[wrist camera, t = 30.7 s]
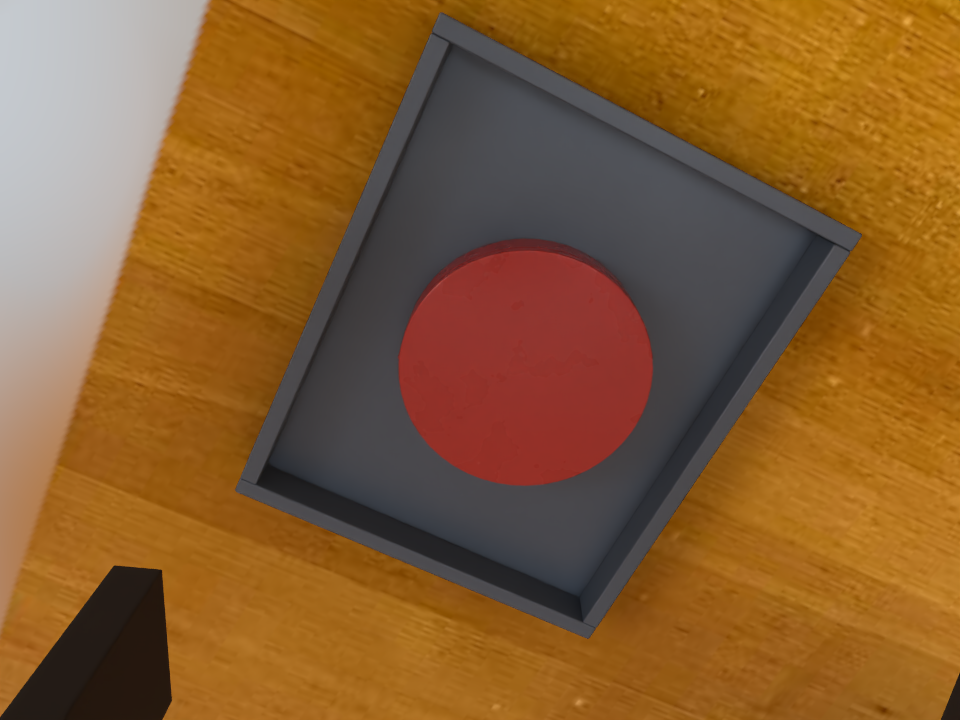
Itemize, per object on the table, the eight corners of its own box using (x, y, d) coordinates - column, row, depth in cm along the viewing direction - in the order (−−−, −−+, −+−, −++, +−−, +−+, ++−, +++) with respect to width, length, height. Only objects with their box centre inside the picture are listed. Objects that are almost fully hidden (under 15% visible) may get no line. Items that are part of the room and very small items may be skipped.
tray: (444, 14, 24) (440, 11, 22) (838, 222, 26) (863, 235, 24) (250, 465, 29) (234, 491, 28) (583, 607, 31) (588, 640, 30)
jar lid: (395, 451, 29) (389, 474, 27) (409, 226, 26) (402, 237, 24) (623, 472, 29) (631, 497, 27) (663, 250, 26) (674, 263, 24)
